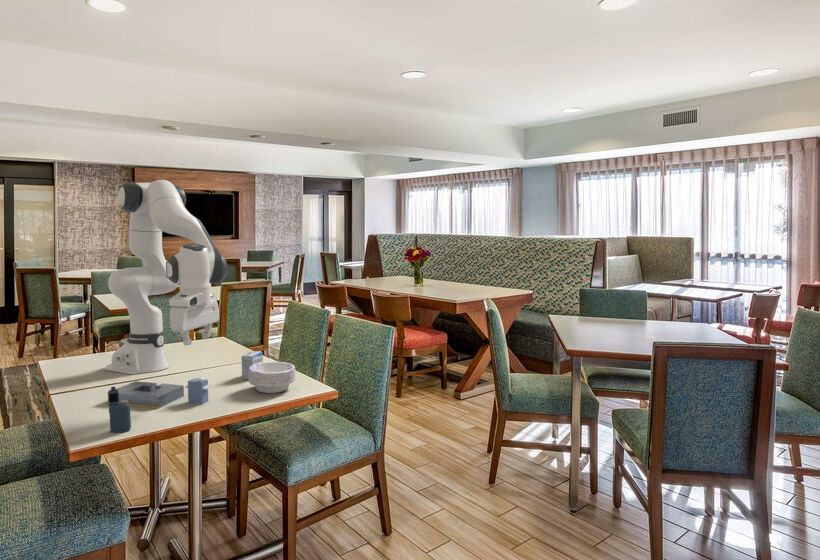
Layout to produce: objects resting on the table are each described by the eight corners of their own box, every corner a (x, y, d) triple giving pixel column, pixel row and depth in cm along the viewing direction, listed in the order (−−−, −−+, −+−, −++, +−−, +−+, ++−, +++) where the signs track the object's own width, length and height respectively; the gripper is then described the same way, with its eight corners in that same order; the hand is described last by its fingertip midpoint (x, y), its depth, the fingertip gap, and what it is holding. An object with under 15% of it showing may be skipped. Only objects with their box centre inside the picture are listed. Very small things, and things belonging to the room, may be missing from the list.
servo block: (185, 402, 168) (184, 378, 168) (191, 399, 171) (190, 375, 171) (205, 404, 167) (205, 380, 166) (211, 401, 170) (210, 377, 169)
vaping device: (112, 429, 146) (110, 385, 145) (132, 428, 147) (130, 385, 146) (108, 432, 144) (106, 388, 143) (128, 432, 144) (126, 388, 143)
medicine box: (253, 380, 194) (252, 356, 193) (241, 379, 194) (241, 355, 194) (263, 374, 201) (262, 351, 200) (252, 373, 202) (251, 350, 201)
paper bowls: (303, 390, 182) (303, 367, 181) (260, 399, 172) (259, 375, 172) (283, 380, 194) (282, 358, 193) (241, 388, 184) (241, 365, 183)
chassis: (106, 403, 166) (106, 392, 166) (135, 391, 179) (135, 381, 178) (157, 408, 163) (157, 397, 162) (183, 396, 175) (183, 385, 174)
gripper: (206, 292, 177) (207, 334, 178) (165, 301, 157) (166, 347, 158) (223, 293, 175) (224, 335, 177) (184, 302, 155) (185, 349, 157)
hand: (196, 341), depth 167 cm, fingers open, 8 cm apart
